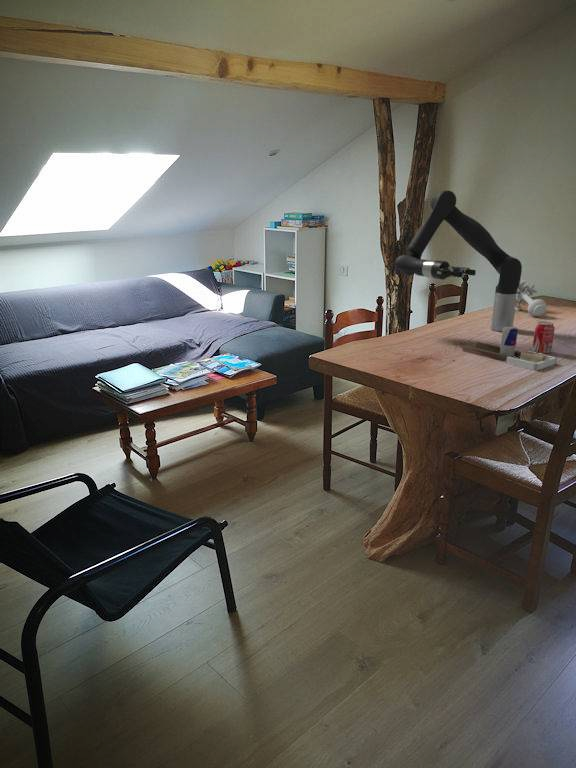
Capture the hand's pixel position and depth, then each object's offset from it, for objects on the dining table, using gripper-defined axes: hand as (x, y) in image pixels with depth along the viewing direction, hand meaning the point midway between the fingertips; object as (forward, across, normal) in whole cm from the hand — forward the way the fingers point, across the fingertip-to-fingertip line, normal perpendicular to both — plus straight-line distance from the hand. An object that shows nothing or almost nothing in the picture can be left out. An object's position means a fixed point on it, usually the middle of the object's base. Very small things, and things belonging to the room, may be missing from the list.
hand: (468, 273), depth 224 cm
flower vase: (-20, +84, +30) cm, 91 cm away
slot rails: (+14, 0, +30) cm, 33 cm away
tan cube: (+30, 0, +30) cm, 42 cm away
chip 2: (+34, 0, +30) cm, 45 cm away
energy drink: (+21, 0, +30) cm, 37 cm away
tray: (+31, 0, +30) cm, 43 cm away
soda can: (+25, +18, +30) cm, 43 cm away
